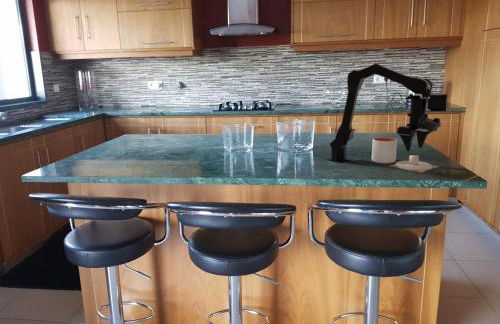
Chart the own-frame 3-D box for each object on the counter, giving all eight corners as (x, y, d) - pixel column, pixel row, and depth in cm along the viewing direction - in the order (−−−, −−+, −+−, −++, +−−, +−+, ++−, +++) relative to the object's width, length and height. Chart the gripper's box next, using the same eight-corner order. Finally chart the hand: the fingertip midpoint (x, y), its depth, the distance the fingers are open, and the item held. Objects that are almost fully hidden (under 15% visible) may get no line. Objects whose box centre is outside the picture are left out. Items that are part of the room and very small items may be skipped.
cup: (369, 163, 169) (370, 140, 167) (373, 158, 178) (375, 136, 175) (393, 165, 165) (395, 142, 162) (397, 160, 173) (398, 138, 171)
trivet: (420, 174, 151) (420, 172, 151) (388, 167, 162) (388, 166, 161) (438, 168, 159) (438, 166, 159) (406, 162, 170) (406, 160, 170)
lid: (420, 172, 151) (421, 161, 150) (388, 166, 161) (389, 156, 160) (438, 166, 159) (439, 156, 158) (406, 160, 170) (407, 151, 169)
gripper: (425, 114, 143) (421, 156, 147) (449, 110, 154) (445, 149, 158) (397, 112, 152) (394, 151, 155) (422, 108, 163) (419, 145, 167)
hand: (414, 149), depth 159 cm, fingers open, 9 cm apart
